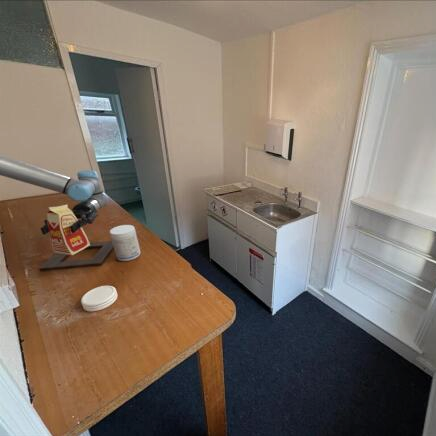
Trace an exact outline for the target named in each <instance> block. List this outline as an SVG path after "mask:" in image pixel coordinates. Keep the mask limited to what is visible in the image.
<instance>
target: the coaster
mask: <svg viewBox="0 0 436 436" xmlns="http://www.w3.org/2000/svg"><path fill="white" fill-rule="evenodd" d="M117 300H118V292H117V289H116V287H114V286H112V285H101V286H97V287H94V288H92V289H91V290H88V291H87V292H86V293H85V294H84V295H82V297H81V299H80V303H81V306H82V308H83V310H84V311H86V312H98V311H102V310H105V309H107V308H109V307H110V306H112V305H113V304H114V303H116V301H117Z"/></svg>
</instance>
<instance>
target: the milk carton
mask: <svg viewBox="0 0 436 436" xmlns="http://www.w3.org/2000/svg"><path fill="white" fill-rule="evenodd" d="M68 205H69V204H63V205H58V206H48V207H47V208H48V211H47V213H46V215H47V216H46V217H47V219H48V229H49V232H48V235H49V240H50V245H51V248H52V250H53V252H54V253H55V254H56V253H61V254H67V255H70V256H74V255H76V254H78V253H79V252H81V251H83V249H84V250H86V249H85V248H86V247H88V246H90V243H91V242H90V241H89V239H88V237H87V234H86V232H85V231H84V229H83V228H84V227H80V228H79V229H78V230H77V231H76V232H75V233H72V231H71V228H70V226H71V225H73V224H74V223H75V222H76V221H78V220H79V219H77V218H76V217H75V215H74V213H73V212H72V209H70V208H69V206H68Z"/></svg>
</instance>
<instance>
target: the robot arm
mask: <svg viewBox="0 0 436 436" xmlns="http://www.w3.org/2000/svg"><path fill="white" fill-rule="evenodd" d="M76 175H77V179H76V178H72V177H70V176H67V175H64V174H60V173H57V172H54V171H51V170H48V169H45V168H42V167H39V166H36V165H34V164H33V165H32V164H30V163H26V162H24V161H21V160H17V159H15V158H12V157H9V156H6V155H2V154H0V176H1V177H5V178H9V179H12V180H16V181H19V182H22V183H25V184H29V185H33V186H36V187H39V188H43V189H46V190H49V191H52V192H55V193H56V192H57V193H60V194H64V195H67V196H68V197H69V198H70V199H71V200H72V201H74V202H78V203H77V204H74V205H73V207H72V209H71V211H72V212H73V213H74V215H75V217H76V218H77V220H78V221H76V222H75V223H74V224H73V225H71V226H70V228H71V231H72V233H75V232H76V231H77V230H78V229H79V228H80V227H82V228H84V226H86V225H87V224H88V225H93V223H94V221H95V219H96V218H97V217H98V216H99V213H98V211H100V210H101V209H102V208H103V207H105V206H106V205H107V203H108V202H109V197H108V196H107V194H106V193H104V192H103V189H102V185H101V182H100V177H99V174H98V173H97V171H95V170H92V169H91V170H80V171H78V172H77V173H76ZM43 222H44V224H43V226H41V227H40V231H41V234H42V235H47V234H49V229H48V218H46V219H44V220H43Z"/></svg>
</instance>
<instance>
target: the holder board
mask: <svg viewBox="0 0 436 436" xmlns="http://www.w3.org/2000/svg"><path fill="white" fill-rule="evenodd" d="M89 243H90V246H88V247H86V248H85V249H83V250H95V249H99V250H98V251H97V252H96V254H94V255H93V257H92V258H88V259H78V260H77V259H76V260H67V259H68V258H69V257H70V256H71V255H67V254H61V253H56V252H55V253H54V255H52V256H51V257H50V258H49V259H48V260H47V261H45V262H44V264H42V265H41V266H40V267H39V268H38V270H39V272H48V271H49V272H50V271H59V270H69V269H79V268H80V269H81V268H82V269H83V268H93V267H101V266H103V265H104V264H105V262H106V261H107V259H108V258H109V257H110V255H111V254H112V253H113V251H115V249H114V246H113V243H112V240H108V241H93V242H92V241H91V242H89ZM83 250H82V251H83Z"/></svg>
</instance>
